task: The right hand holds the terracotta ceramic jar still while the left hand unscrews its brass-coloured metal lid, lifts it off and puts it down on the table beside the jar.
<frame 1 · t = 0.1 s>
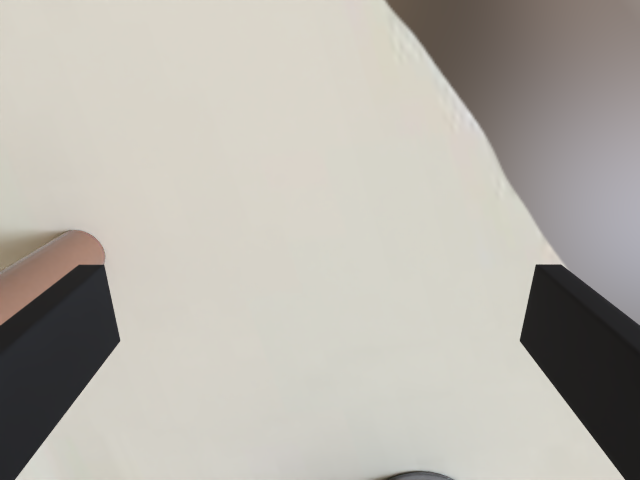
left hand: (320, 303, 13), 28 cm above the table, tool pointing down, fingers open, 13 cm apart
jar: (80, 253, 43), on the table
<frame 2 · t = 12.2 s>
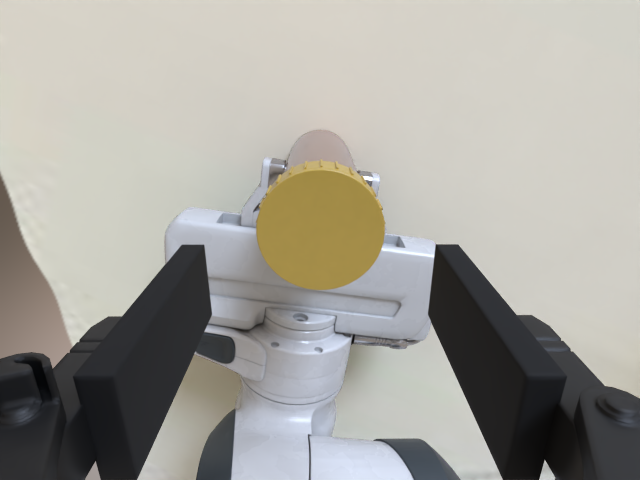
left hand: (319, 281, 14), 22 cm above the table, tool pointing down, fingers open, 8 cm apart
right hand: (321, 166, 28), fingers closed on jar, 5 cm apart
jar: (320, 160, 35), on the table, touching right hand
lid: (320, 230, 19), point 17 cm above the table, screwed on, not yet turned
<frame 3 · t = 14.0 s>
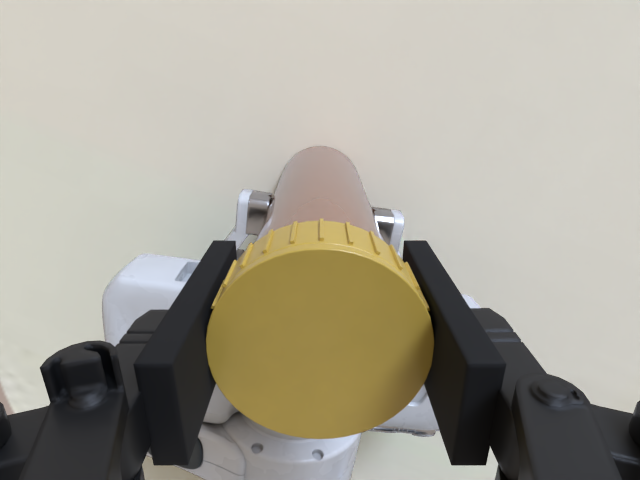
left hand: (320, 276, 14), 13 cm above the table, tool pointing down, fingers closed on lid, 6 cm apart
jar: (319, 185, 27), on the table, touching right hand
lid: (320, 345, 11), point 17 cm above the table, screwed on, not yet turned, touching left hand
when the left hand's fingers open (13 cm above the table, at t = 15.3 s): lid stays where it is, point 17 cm above the table.
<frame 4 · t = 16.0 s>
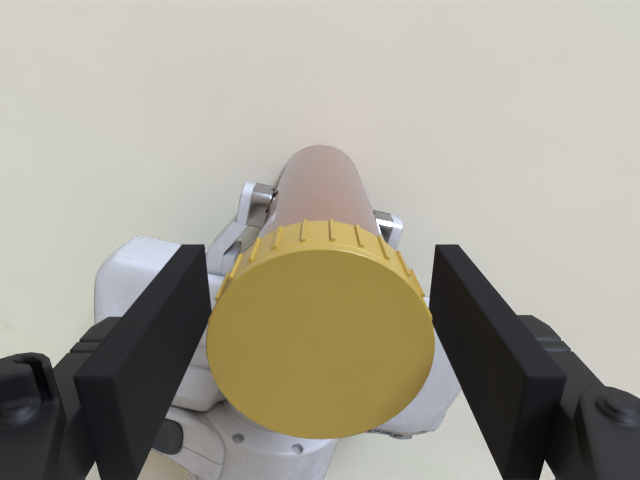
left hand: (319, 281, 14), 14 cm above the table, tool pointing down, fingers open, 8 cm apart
jar: (320, 184, 27), on the table, touching right hand
lid: (320, 345, 11), point 17 cm above the table, turned 97° so far, risen 0.3 cm, still on its thread
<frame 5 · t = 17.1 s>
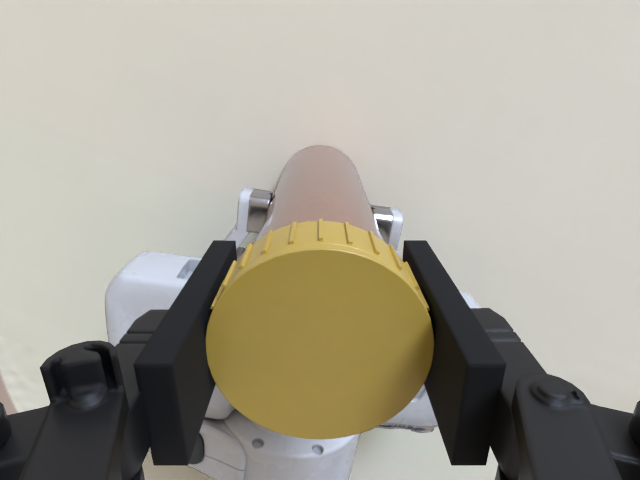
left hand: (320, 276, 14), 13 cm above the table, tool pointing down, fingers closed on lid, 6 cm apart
jar: (319, 184, 27), on the table, touching right hand
lid: (319, 345, 11), point 17 cm above the table, turned 97° so far, risen 0.3 cm, still on its thread, touching left hand
when the left hand's fingers open (0 cm above the table, at t = 24.3 s): lid stays where it is, point 2 cm above the table.
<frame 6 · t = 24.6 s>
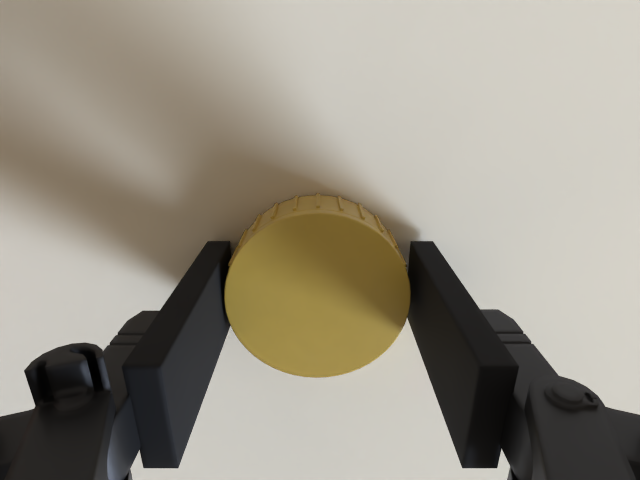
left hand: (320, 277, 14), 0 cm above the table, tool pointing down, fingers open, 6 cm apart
lid: (317, 296, 13), point 2 cm above the table, off its thread
when the right hand's fingers open (7 cm above the table, at t = 25.3 s): jar stays where it is, on the table.
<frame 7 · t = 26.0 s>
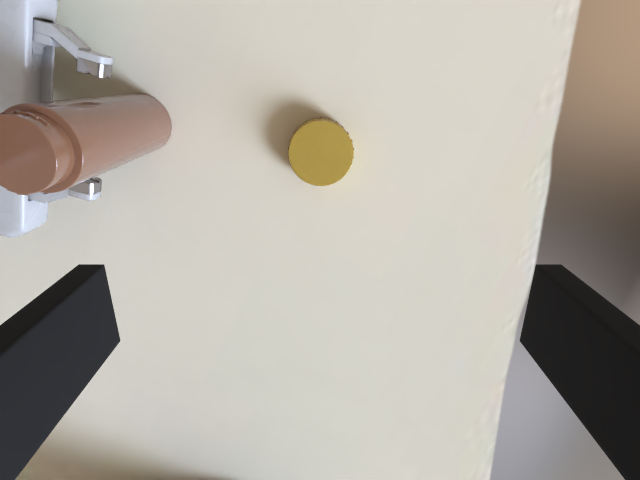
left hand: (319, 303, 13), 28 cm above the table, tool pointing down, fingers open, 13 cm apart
jar: (143, 123, 38), on the table
lid: (320, 153, 37), point 2 cm above the table, off its thread
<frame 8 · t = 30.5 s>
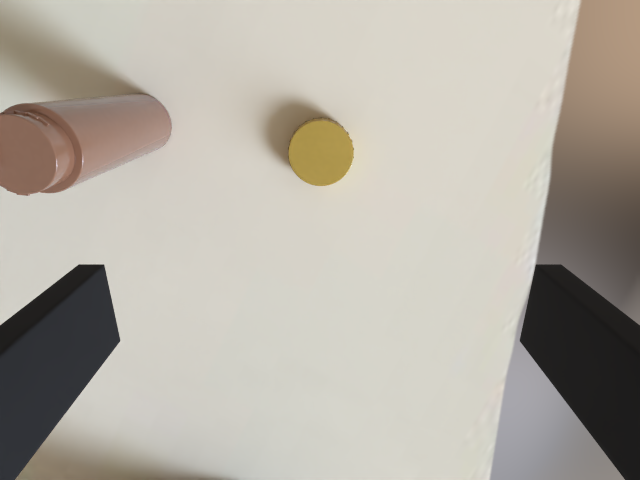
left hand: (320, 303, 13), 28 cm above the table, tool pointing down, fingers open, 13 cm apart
jar: (143, 123, 38), on the table
lid: (320, 153, 37), point 2 cm above the table, off its thread
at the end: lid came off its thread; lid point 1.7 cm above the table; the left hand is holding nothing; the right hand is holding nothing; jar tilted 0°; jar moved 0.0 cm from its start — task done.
